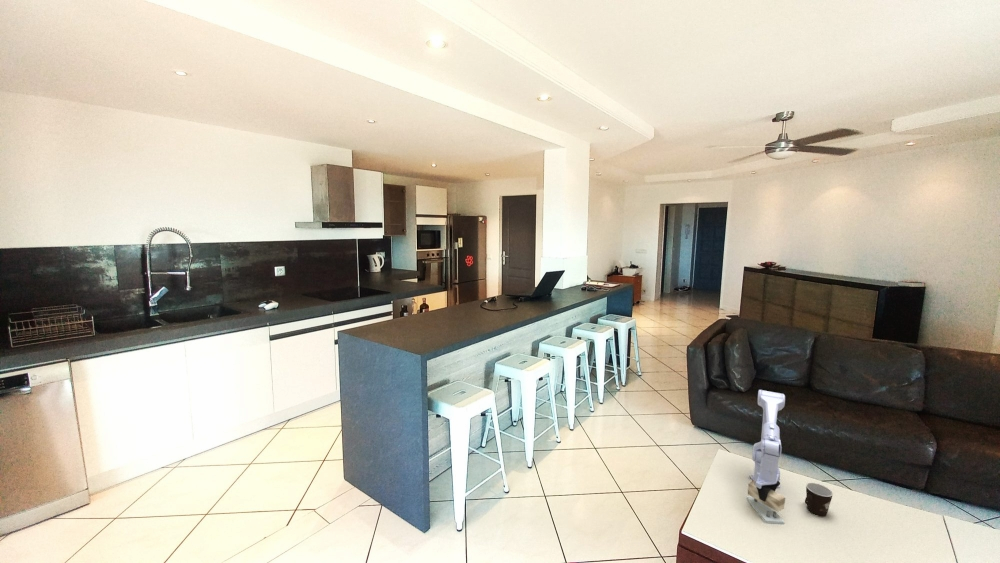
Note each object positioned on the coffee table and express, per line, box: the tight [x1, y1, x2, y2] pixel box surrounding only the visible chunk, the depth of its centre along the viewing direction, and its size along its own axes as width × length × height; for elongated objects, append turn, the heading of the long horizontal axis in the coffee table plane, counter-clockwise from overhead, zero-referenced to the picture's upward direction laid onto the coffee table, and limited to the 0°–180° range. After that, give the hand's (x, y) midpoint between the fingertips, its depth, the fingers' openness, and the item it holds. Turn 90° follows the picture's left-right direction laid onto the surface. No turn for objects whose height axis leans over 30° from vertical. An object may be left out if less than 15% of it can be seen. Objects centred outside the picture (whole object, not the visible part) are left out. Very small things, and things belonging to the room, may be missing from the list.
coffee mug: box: [804, 482, 834, 518], centre depth 162 cm, size 12×9×10 cm
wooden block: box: [747, 480, 786, 513], centre depth 162 cm, size 12×4×5 cm, turn 28°
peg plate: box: [746, 496, 785, 525], centre depth 163 cm, size 14×7×3 cm, turn 175°
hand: (765, 498), depth 162 cm, fingers closed on wooden block, 4 cm apart
